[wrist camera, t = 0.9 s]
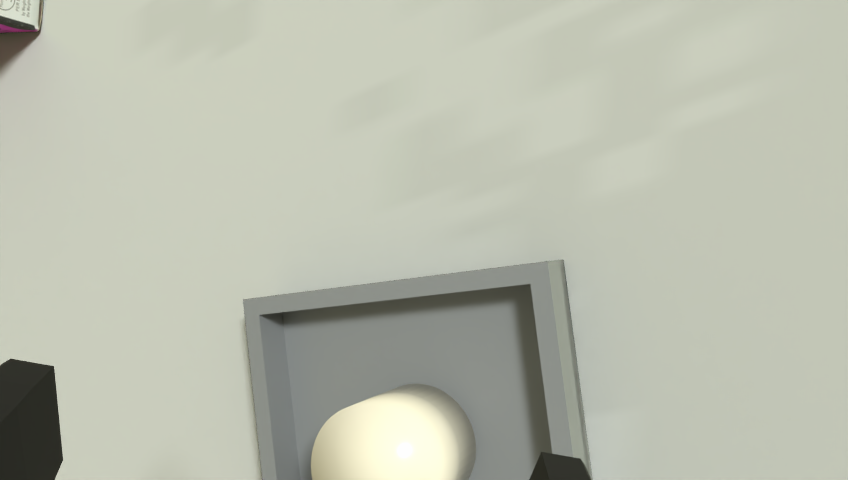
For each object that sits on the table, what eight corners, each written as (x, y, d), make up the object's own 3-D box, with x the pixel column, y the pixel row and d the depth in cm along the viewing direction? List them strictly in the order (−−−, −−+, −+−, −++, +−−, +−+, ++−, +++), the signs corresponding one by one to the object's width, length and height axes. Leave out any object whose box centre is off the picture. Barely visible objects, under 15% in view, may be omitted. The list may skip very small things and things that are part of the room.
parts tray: (609, 612, 24) (597, 644, 22) (309, 594, 28) (277, 618, 26) (563, 259, 24) (547, 261, 22) (276, 295, 29) (242, 299, 27)
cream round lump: (483, 504, 25) (440, 544, 21) (374, 503, 26) (318, 540, 23) (468, 379, 25) (423, 400, 21) (360, 386, 26) (304, 407, 23)
